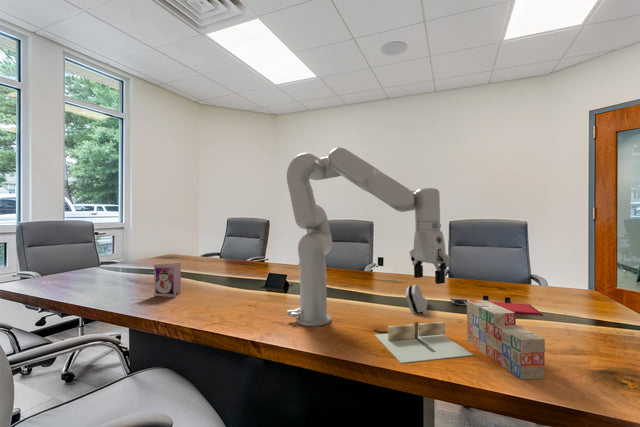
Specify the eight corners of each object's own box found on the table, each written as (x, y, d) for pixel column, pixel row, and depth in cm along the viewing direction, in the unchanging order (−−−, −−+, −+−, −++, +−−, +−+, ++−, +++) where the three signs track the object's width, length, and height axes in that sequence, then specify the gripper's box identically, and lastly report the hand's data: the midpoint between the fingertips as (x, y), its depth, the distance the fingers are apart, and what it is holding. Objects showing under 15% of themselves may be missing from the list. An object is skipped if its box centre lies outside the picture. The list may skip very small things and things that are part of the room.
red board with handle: (449, 299, 133) (455, 310, 118) (449, 293, 133) (455, 303, 118) (525, 305, 125) (542, 317, 110) (526, 298, 125) (542, 310, 110)
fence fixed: (389, 342, 88) (389, 325, 88) (387, 340, 89) (387, 323, 89) (418, 339, 90) (418, 322, 90) (416, 337, 91) (416, 321, 91)
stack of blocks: (546, 379, 68) (545, 325, 68) (520, 380, 67) (519, 326, 67) (486, 340, 89) (486, 299, 89) (466, 341, 89) (466, 300, 89)
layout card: (400, 363, 75) (400, 362, 75) (374, 335, 93) (374, 334, 93) (473, 355, 79) (473, 354, 79) (434, 329, 97) (434, 329, 97)
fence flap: (420, 336, 90) (420, 324, 90) (418, 335, 91) (418, 323, 91) (444, 334, 91) (444, 322, 91) (443, 333, 92) (443, 321, 92)
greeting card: (152, 296, 139) (152, 265, 139) (163, 292, 146) (163, 262, 146) (174, 297, 137) (174, 265, 137) (184, 293, 144) (184, 263, 144)
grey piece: (425, 315, 111) (415, 289, 113) (413, 317, 113) (403, 292, 115) (428, 303, 127) (419, 280, 128) (417, 305, 128) (409, 283, 130)
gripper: (458, 227, 88) (459, 284, 88) (418, 226, 104) (419, 274, 104) (438, 228, 85) (439, 287, 85) (401, 226, 101) (402, 276, 101)
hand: (428, 280), depth 95 cm, fingers open, 9 cm apart
